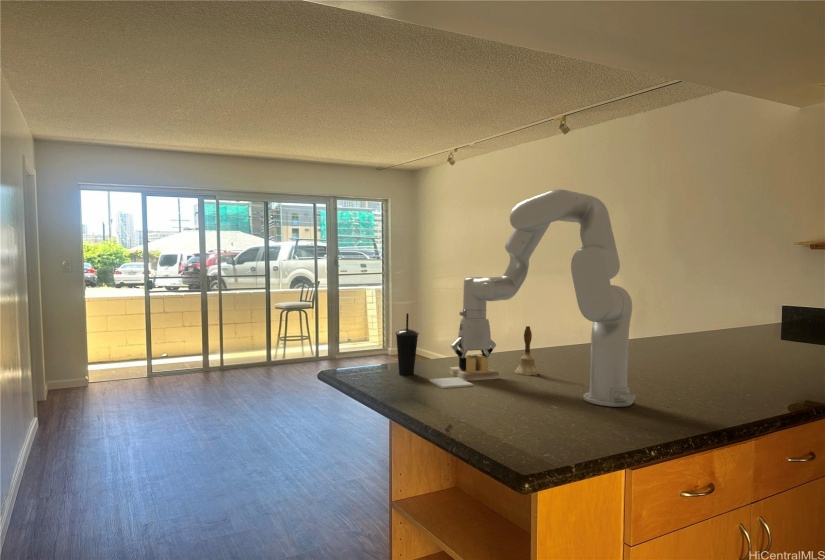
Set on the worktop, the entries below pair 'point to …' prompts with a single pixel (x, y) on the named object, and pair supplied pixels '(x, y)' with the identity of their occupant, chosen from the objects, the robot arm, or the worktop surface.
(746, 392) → the worktop surface
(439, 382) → the pad
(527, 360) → the hand bell
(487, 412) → the worktop surface
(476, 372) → the stand
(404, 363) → the drinking cup
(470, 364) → the c link
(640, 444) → the worktop surface
